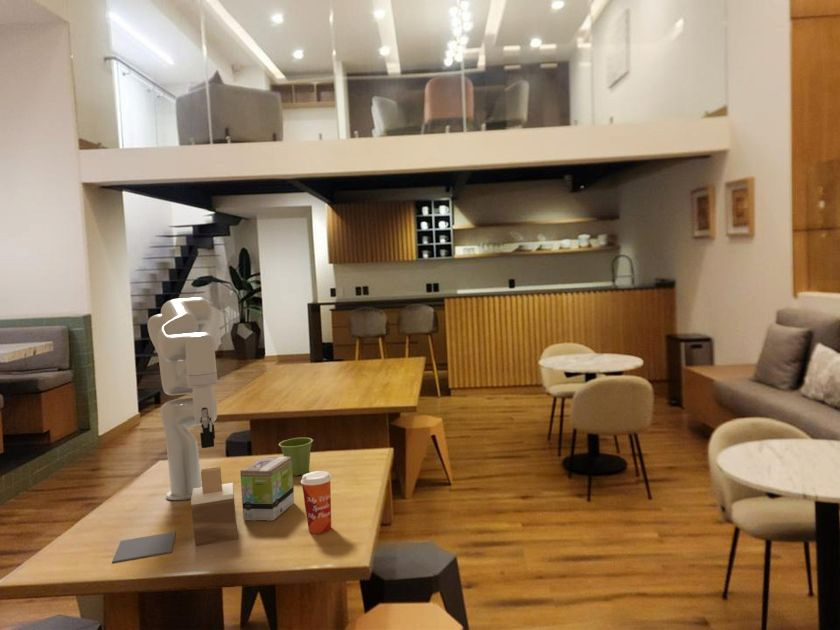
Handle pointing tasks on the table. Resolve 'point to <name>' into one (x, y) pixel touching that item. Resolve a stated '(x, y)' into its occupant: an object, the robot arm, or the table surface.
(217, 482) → the lid
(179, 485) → the robot arm
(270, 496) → the tea box
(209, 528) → the box
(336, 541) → the table surface
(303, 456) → the plant pot
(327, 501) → the coffee cup
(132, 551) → the mat
